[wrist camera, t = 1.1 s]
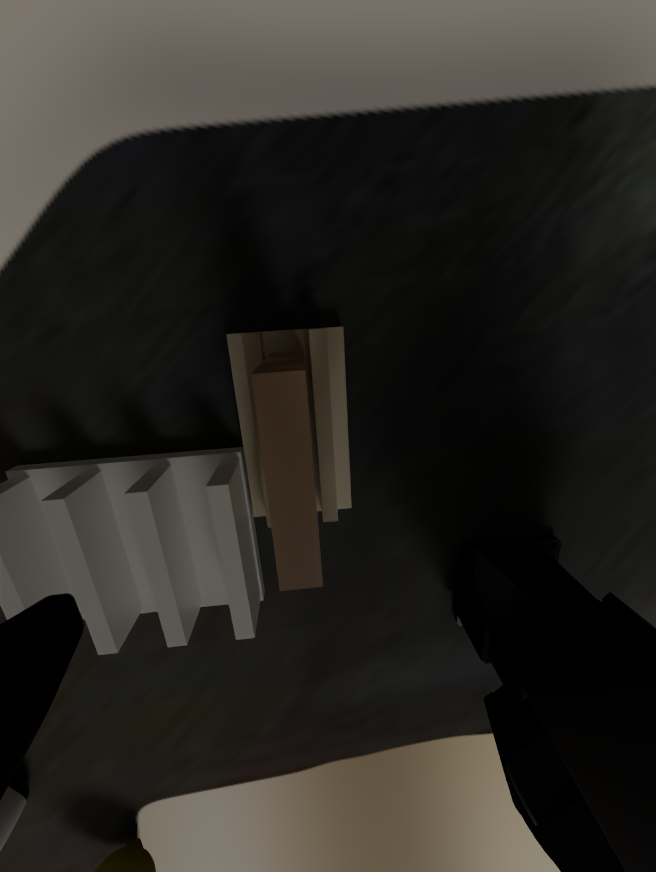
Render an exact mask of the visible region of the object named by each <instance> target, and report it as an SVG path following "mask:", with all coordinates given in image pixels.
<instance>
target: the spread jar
mask: <svg viewBox="0 0 656 872" xmlns="http://www.w3.org/2000/svg"><path fill="white" fill-rule="evenodd" d="M28 796H29V785H28V782H27V780H26V778H25V776H24V774H23V773H22V772H21V770H20V769H19V768H18V769H17V771H16V773H15V775H14V777H13V778H12V780H11V782H10V784H9V786H8V788H7V790H6V791H5V793H4V795H3V797H2V799H1V801H0V851H1V849H2V848H3V846H4V844H5V842H6V840H7V839H8V837H9V835H10V833H11V832H12V830H13V828H14V826H15V824H16V822H17V820H18V819H19V817H20V815H21V813H22V811H23V809H24V807H25V804H26V802H27V799H28Z"/></svg>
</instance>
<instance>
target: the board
mask: <svg viewBox="0 0 656 872" xmlns="http://www.w3.org/2000/svg"><path fill="white" fill-rule="evenodd" d="M251 378H252V386H253V393H254V401H255V408H256V416H257V423H258V431H259V438H260V446H261V453H262V461H263V468H264V475H265V483H266V490H267V498H268V505H269V513H270V520H271V528H272V535H273V543H274V550H275V558H276V565H277V572H278V580H279V587H280V591H285V590H294V589H304V588H314V587H323V580H322V567H321V555H320V543H319V530H318V518H317V506H316V493H315V481H314V469H313V457H312V445H311V433H310V421H309V409H308V396H307V384H306V372H305V360H304V351H293V352H279V353H271V354H270V355H269V356H268V357H267V358H266V359H265V360H264V361H263V362H262V363H261V364H260V365H259V366H258V367H257V368H256V369H255V370H254V371H253V372H252V374H251Z"/></svg>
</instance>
